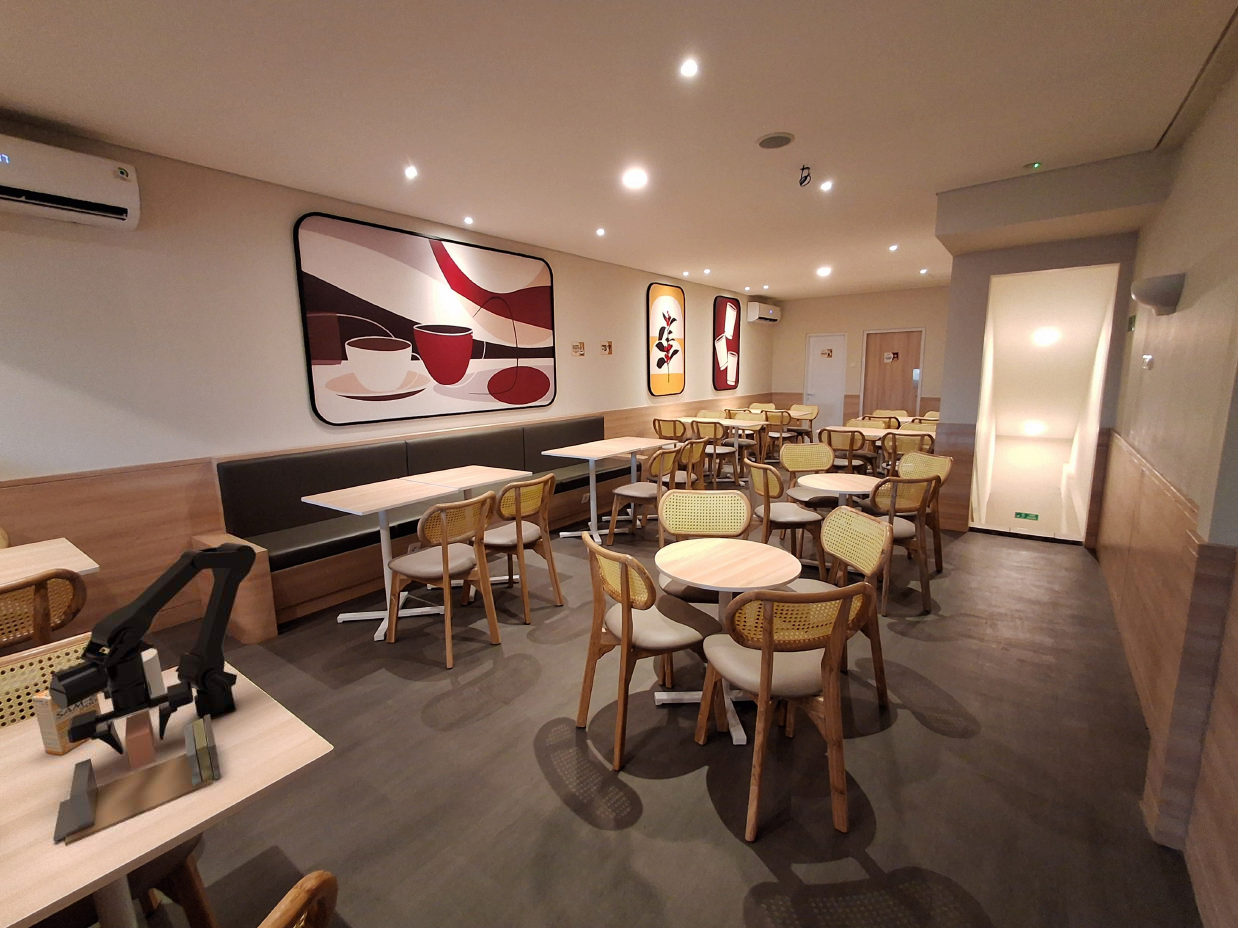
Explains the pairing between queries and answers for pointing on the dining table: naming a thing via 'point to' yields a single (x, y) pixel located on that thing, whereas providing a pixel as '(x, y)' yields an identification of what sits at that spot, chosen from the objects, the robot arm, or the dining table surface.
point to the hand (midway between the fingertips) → (142, 745)
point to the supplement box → (59, 721)
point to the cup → (153, 673)
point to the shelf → (157, 782)
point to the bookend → (78, 802)
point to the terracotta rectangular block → (140, 740)
